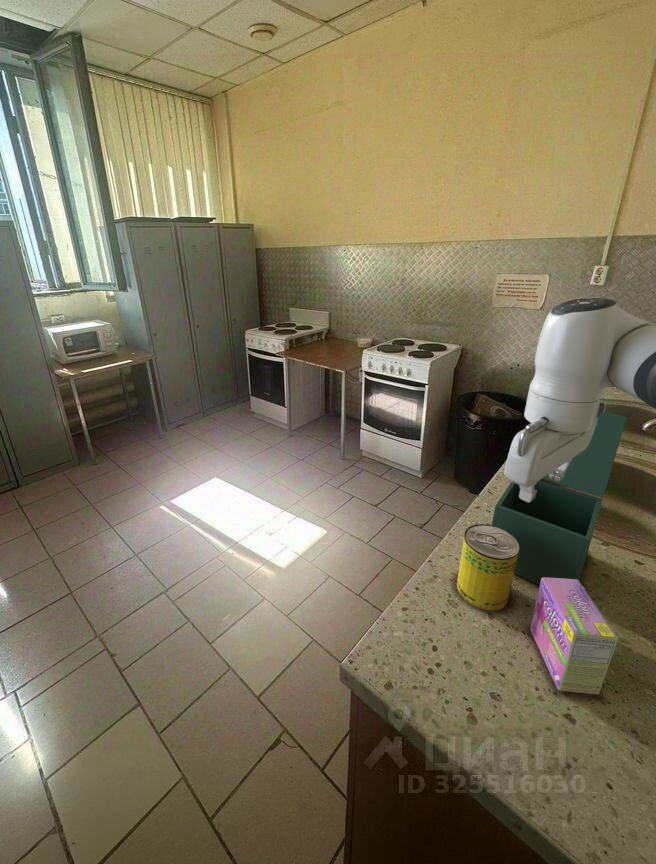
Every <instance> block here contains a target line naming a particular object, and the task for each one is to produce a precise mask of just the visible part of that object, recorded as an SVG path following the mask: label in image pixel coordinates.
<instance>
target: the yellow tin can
mask: <svg viewBox="0 0 656 864" xmlns="http://www.w3.org/2000/svg"><path fill="white" fill-rule="evenodd" d="M462 541H463V542H462V548H461V553H460V554H461V555H460V560H459V566H458V567H459V568H458V573H457V580H456V581H457V582H456V587H457V591H458V592H459V595H460V596H461V597H462V598H463V599H464V600H465V601H466V602H467V603H469V604H470V605H472V606H474V607H476V608H478V609H482V610H484V611H499V610H501V609H504V607H505V606H506V605H508V602H509V597H510V593H511V589H512V584H513V579H514V575H515V574H514V571H515V566H516V562H517V557H518V553H519V544H518V542H517V540H516V539H515V538H514V537H513V536H512V535H511V534H509V533H508V532H506V531H505V530H503V529H501V528H498V527H495V526H492V524H485V523H478V524H477V523H476V524H473V525H470V526H468V527H467V528H466V529H465V531H464V535H463V540H462Z"/></svg>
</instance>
